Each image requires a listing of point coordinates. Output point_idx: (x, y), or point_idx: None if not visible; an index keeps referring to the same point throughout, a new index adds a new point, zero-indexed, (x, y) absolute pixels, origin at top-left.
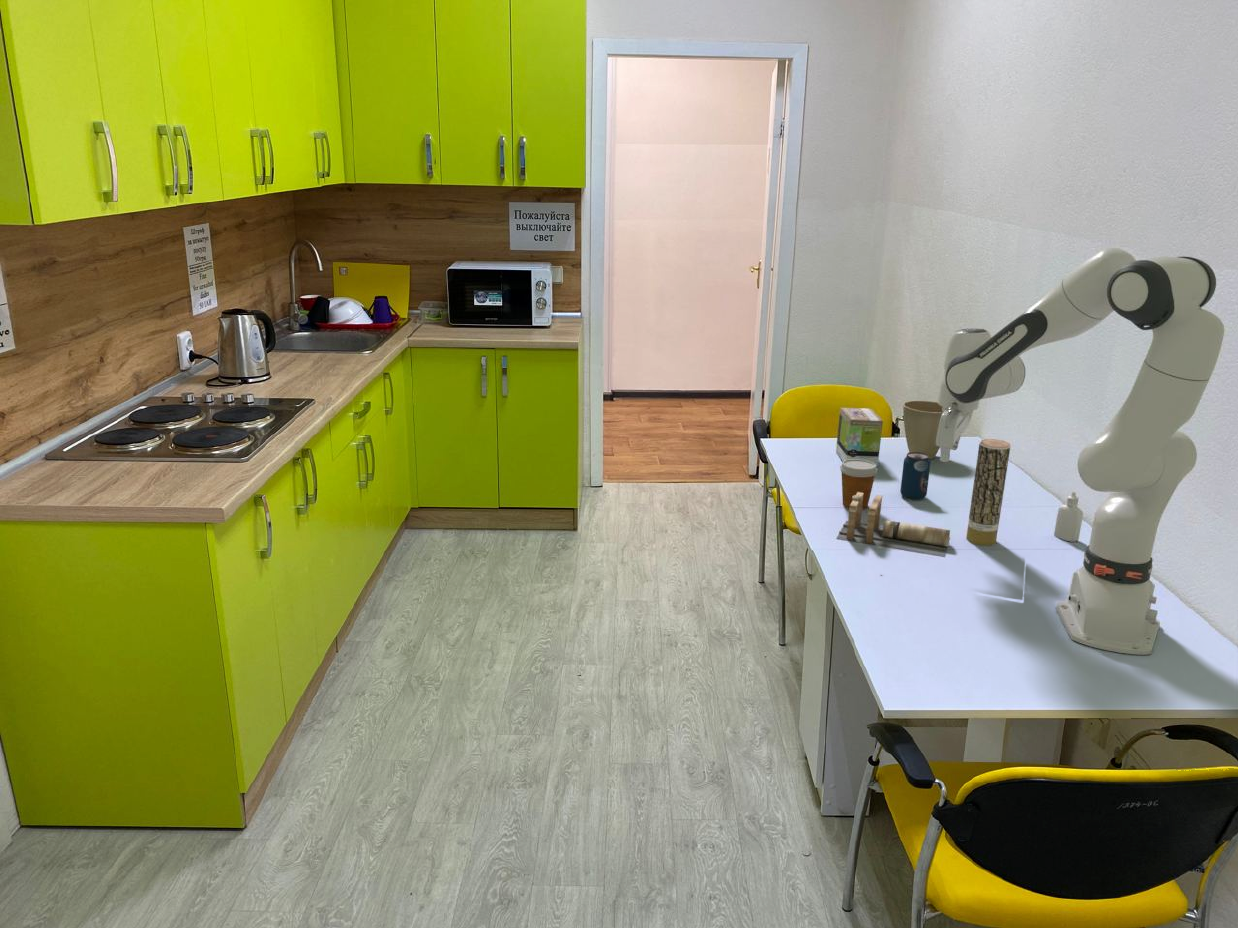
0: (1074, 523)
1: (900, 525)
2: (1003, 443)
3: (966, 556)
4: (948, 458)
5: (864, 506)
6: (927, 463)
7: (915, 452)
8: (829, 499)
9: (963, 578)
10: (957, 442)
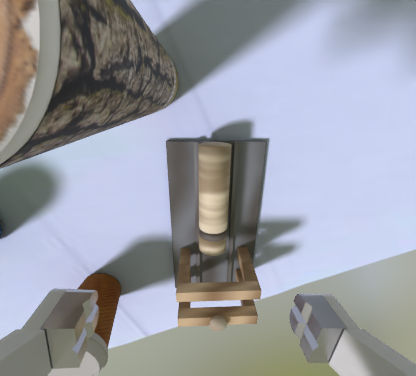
0: None
1: (221, 230)
2: None
3: (236, 104)
4: (339, 308)
5: (108, 280)
6: None
7: None
8: None
9: (339, 102)
10: (44, 333)
